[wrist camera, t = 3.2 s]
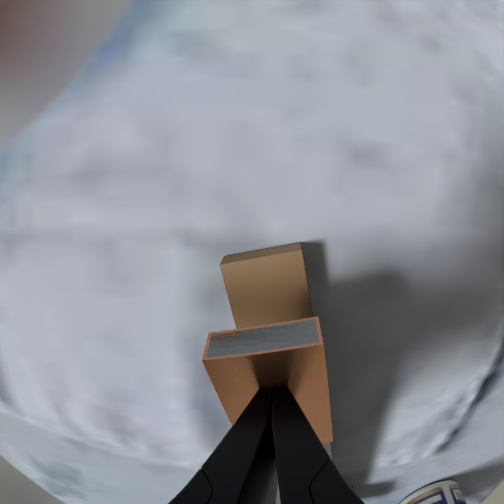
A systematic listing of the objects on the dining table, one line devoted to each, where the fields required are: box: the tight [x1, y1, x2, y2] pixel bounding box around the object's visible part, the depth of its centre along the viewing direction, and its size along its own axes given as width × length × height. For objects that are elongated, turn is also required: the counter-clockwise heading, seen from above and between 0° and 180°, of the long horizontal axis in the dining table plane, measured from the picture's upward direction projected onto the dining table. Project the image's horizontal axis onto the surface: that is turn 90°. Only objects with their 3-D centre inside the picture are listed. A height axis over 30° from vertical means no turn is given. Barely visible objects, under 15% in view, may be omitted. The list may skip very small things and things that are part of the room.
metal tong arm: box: [202, 316, 333, 504], centre depth 12 cm, size 19×3×1 cm, turn 12°
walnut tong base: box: [220, 242, 353, 504], centre depth 14 cm, size 20×6×4 cm, turn 12°
